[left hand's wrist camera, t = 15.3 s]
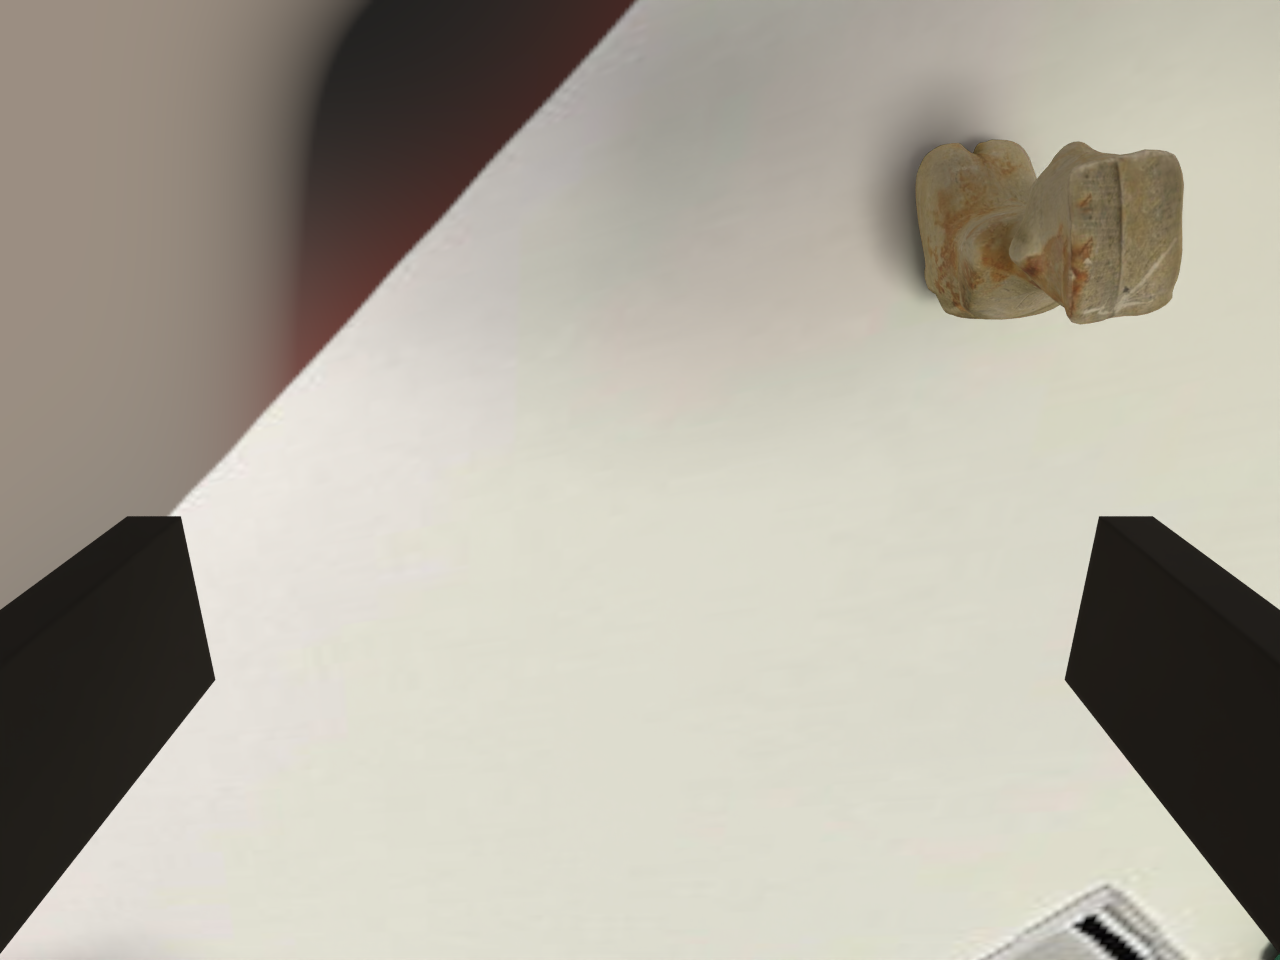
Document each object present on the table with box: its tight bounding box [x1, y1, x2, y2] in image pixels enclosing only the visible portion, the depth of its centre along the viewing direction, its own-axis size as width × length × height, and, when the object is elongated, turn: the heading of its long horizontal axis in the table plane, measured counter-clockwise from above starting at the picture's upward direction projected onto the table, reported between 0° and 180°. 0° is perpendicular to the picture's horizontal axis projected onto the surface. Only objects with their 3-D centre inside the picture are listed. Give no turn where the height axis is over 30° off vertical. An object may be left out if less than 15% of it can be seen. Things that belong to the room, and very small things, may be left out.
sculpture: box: [915, 140, 1184, 324], centre depth 33 cm, size 6×7×15 cm
